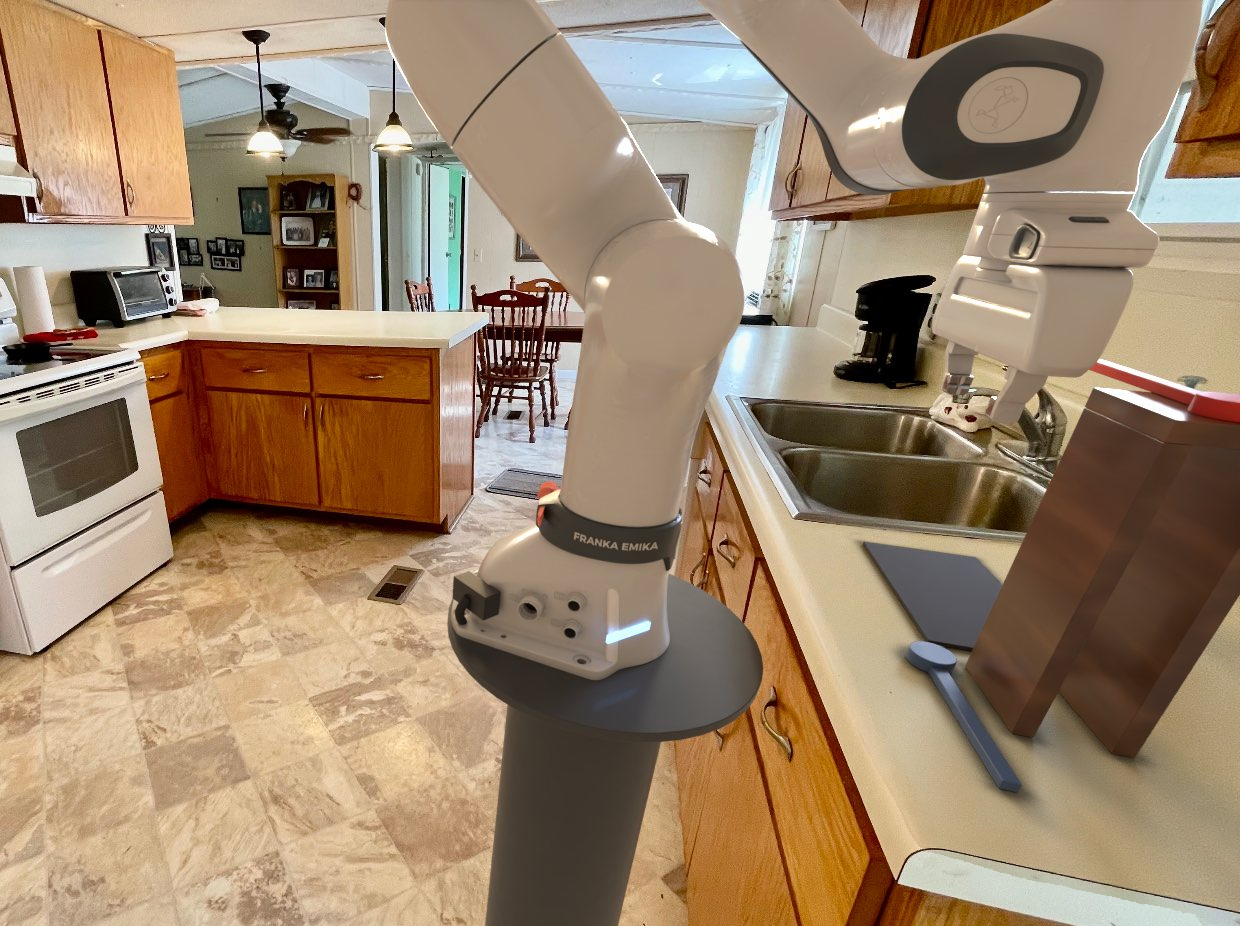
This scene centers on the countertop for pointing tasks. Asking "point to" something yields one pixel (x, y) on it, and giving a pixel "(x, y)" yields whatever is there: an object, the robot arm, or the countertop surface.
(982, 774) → the countertop surface
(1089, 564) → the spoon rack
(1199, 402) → the red spoon
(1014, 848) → the countertop surface
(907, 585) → the charcoal mat
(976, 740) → the blue spoon
